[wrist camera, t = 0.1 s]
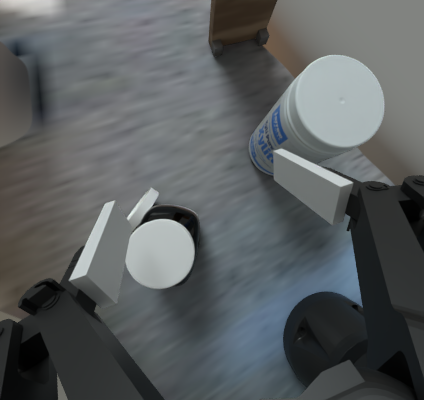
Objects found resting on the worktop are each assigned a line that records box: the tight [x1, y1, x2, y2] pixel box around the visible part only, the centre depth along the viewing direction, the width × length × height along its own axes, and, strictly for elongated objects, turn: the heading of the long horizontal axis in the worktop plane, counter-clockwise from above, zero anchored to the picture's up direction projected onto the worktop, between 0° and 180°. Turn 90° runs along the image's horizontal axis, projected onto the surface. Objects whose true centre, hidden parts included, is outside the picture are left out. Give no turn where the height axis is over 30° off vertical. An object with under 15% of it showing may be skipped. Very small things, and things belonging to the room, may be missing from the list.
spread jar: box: [125, 188, 200, 289], centre depth 23 cm, size 12×11×12 cm
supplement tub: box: [249, 55, 384, 176], centre depth 24 cm, size 10×10×15 cm
